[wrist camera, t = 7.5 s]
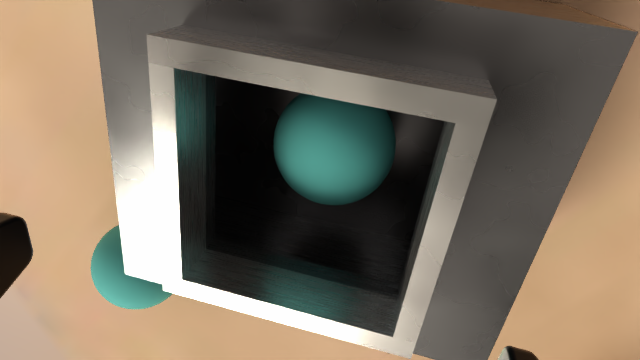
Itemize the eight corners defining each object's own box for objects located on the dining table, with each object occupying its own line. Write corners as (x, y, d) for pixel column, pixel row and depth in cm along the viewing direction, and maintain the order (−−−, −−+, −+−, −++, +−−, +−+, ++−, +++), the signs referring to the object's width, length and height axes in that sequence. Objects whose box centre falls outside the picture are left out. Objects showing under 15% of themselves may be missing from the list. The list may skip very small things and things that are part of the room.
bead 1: (201, 214, 20) (153, 267, 17) (202, 279, 22) (158, 339, 19) (124, 195, 21) (62, 242, 17) (131, 260, 23) (76, 315, 19)
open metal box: (563, 4, 13) (675, 45, 7) (469, 260, 18) (486, 417, 12) (199, -52, 15) (34, -57, 9) (201, 196, 20) (95, 304, 14)
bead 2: (410, 81, 15) (405, 119, 11) (386, 182, 17) (377, 241, 13) (297, 60, 15) (260, 91, 12) (287, 161, 17) (252, 213, 14)
